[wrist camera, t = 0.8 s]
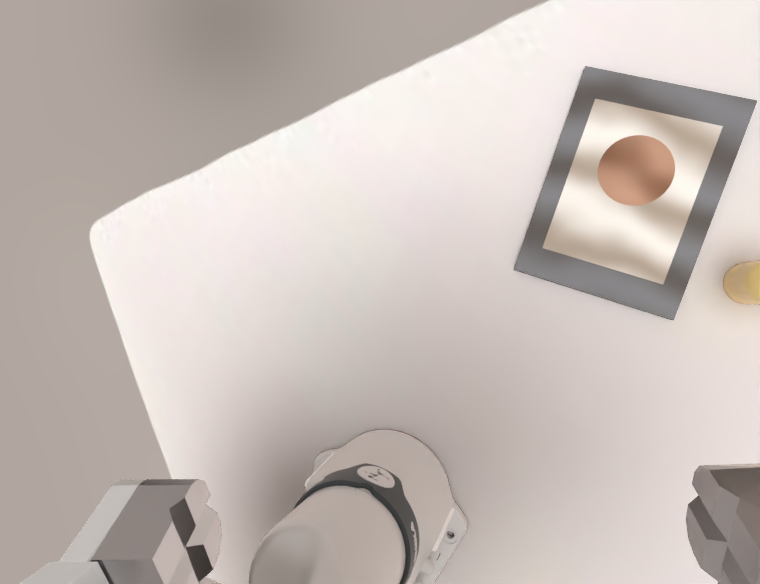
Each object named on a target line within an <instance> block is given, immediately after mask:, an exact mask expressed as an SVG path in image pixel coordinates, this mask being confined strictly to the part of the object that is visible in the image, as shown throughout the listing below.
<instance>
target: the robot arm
mask: <svg viewBox="0 0 760 584" xmlns="http://www.w3.org/2000/svg"><path fill="white" fill-rule="evenodd" d="M692 485H693V486H694V488H695V490H696V492H697V493H698V495H699V496H697V497H696V498H695V499H694V500H693V501H692V502H690V503H689V504H688V509H687V516H686V524H687V532H688V538H689V541H690V544H691V547H692V550H693V553H694V555H695V557H696V559H697V561H698V563H699V565H700V567H701V568H702V569H703V570H704V571H705V572H707V573H708V574H709V575H711V576H712V577H713V578H715V579H716V580H717V581H718V584H760V463H759V464H731V465H704V466H699V467H698V468H697V469H696V471H695V472H694V477H693V482H692ZM304 487H305V488H306V491H305V493H304V494H303V496H302V497H301V498H300V500H299V501H298V503H297V504H296V506H295V507H294V509H293V511H291V512H290V513H289V514H288V515H287V516H285V517H284V518H283V519H282V520H281V521H280V522H278V523H277V524H276V525H275V526H274V527H273V528H272V529H270V531H269V532H268V533H267V534H266V535H265V536H264V538H263V539H262V541H261V543H260V544H259V546H258V548H257V550H256V553H255V555H254V558H253V561H252V564H251V568H250V573H249V584H434V582H435V580H436V579H437V577H438V576H439V574H440V572H441V571H442V569H443V568H444V566H445V564H446V563H447V561H448V560H449V558H450V556H451V555H452V553H453V552H454V550H455V548H456V547H457V545H458V544H459V542H460V540H461V539H462V537H463V536H464V534H465V532H466V531H467V528H468V523H467V520H466V517H465V516H464V514H463V512H462V511H461V509H460V508H459V507H458V505H457V504H456V502H455V501H454V499H453V496H452V493H451V489H450V485H449V481H448V478H447V475H446V473H445V471H444V468H443V467H442V465H441V463H440V462H439V460H438V459H437V457H436V456H435V455H434V454H433V452H432V451H431V450H430V449H429V448H428V447H427V446H425V445H424V444H423V443H422V442H420V441H419V440H417V439H416V438H414V437H412V436H410V435H408V434H405V433H402V432H399V431H394V430H374V431H369V432H366V433H363V434H361V435H359V436H357V437H356V438H354V439H353V440H351V441H350V442H348V443H347V444H346V445H344V446H343V447H341V448H337V449H331V450H327V451H324V452H322V453H320V454H319V455H318V456H317V457H316V459H315V461H314V467H313V474H312V475H311V476H310V477H309V478H308V479H307V480H306V482H305V484H304ZM209 497H210V493H209V490H208V488H207V485H206V483H205V481H202V480H198V479H167V480H165V479H164V480H163V479H158V480H157V479H155V480H154V479H151V480H149V479H147V480H120V481H118V482H117V483H115V484H114V485H112V486H111V488H110V489H109V490H108V492H107V493H106V495H105V496H104V498H103V499H102V500H101V502H100V503H99V505H98V506H97V508H96V509H95V510H94V512H93V513H92V515H91V516H90V518H89V519H88V520H87V522H86V523H85V525H84V526H83V527H82V529H81V530H80V532H79V533H78V535H77V536H76V537H75V539H74V540H73V542H72V543H71V545H70V546H69V547H68V549H67V550H66V552H65V553H64V555H63V556H62V558H61V559H60V560H59V562H50V563H48V564H46V565H45V566H44V567H42V568H41V569H39V570H38V571H37V572H35V573H34V574H32V575H31V576H30V577H28V578H27V579H25V580H24V581H23V582H21V583H19V584H221V583H219V582H216V581H214V580H211V579H209V578H207V577H205V576H206V575H208V574H209V573H210V572H211V571H212V570H213V568H214V566H215V563H216V560H217V558H218V555H219V551H220V544H221V537H222V534H221V524H220V520H219V517H218V514H217V512H215V511H214V510H213V509H212V508H210V507H209V506H208V505H206V503H207V501H208V499H209ZM448 531H451V532H453V533H454V536H449V535H448V533H447V532H448Z"/></svg>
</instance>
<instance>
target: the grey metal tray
mask: <svg viewBox="0 0 760 584" xmlns="http://www.w3.org/2000/svg"><path fill="white" fill-rule="evenodd" d="M756 103H757V101H756V100H751V99H746V98H741V97H736V96H731V95H726V94H721V93H716V92H711V91H706V90H701V89H697V88H692V87H687V86H682V85H677V84H672V83H667V82H662V81H657V80H652V79H647V78H642V77H637V76H632V75H627V74H622V73H617V72H612V71H607V70H602V69H597V68H592V67H587V66H585V69H584V72H583V75H582V78H581V80H580V83H579V86H578V89H577V92H576V95H575V97H574V100H573V103H572V106H571V109H570V112H569V115H568V117H567V120H566V123H565V126H564V129H563V132H562V134H561V137H560V140H559V143H558V146H557V149H556V152H555V154H554V157H553V160H552V163H551V166H550V169H549V171H548V174H547V177H546V180H545V183H544V186H543V188H542V191H541V194H540V197H539V200H538V203H537V206H536V208H535V211H534V214H533V217H532V220H531V223H530V225H529V228H528V231H527V234H526V237H525V240H524V242H523V245H522V248H521V251H520V254H519V257H518V260H517V262H516V265H515V268H514V270H517V271H520V272H523V273H526V274H530V275H533V276H536V277H539V278H542V279H545V280H548V281H551V282H555V283H558V284H561V285H564V286H567V287H570V288H573V289H577V290H580V291H583V292H586V293H589V294H592V295H595V296H598V297H602V298H605V299H608V300H611V301H614V302H617V303H620V304H623V305H627V306H630V307H633V308H636V309H639V310H642V311H645V312H649V313H652V314H655V315H658V316H661V317H664V318H667V319H670V320H674V318H675V315H676V312H677V310H678V307H679V304H680V302H681V299H682V297H683V294H684V291H685V289H686V286H687V284H688V281H689V278H690V276H691V273H692V270H693V268H694V265H695V263H696V260H697V257H698V255H699V252H700V249H701V247H702V244H703V242H704V239H705V236H706V234H707V231H708V228H709V226H710V223H711V221H712V218H713V215H714V213H715V210H716V208H717V205H718V202H719V200H720V197H721V194H722V192H723V189H724V187H725V184H726V181H727V179H728V176H729V173H730V171H731V168H732V166H733V163H734V160H735V158H736V155H737V152H738V150H739V147H740V145H741V142H742V139H743V137H744V134H745V132H746V129H747V126H748V124H749V121H750V118H751V116H752V113H753V111H754V108H755V105H756Z"/></svg>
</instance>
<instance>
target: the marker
mask: <svg viewBox="0 0 760 584" xmlns="http://www.w3.org/2000/svg"><path fill="white" fill-rule="evenodd" d="M723 285H724V290H725V292H726V294H727V295H728V296H729V297H730V298H731V299H732V300H734V301H736V302H738V303H741V304H754V305H760V260H757V261H752V262H746V263H741V264H738V265H735V266H734V267H732V268H731V269H730V270H729V271H728V272H727V273H726V275H725V277H724V282H723Z"/></svg>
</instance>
